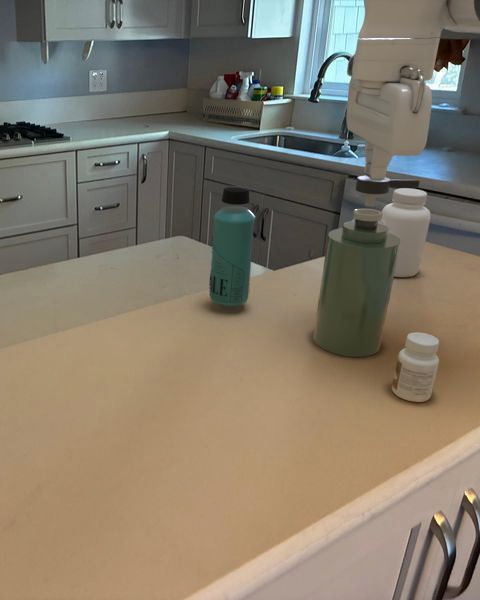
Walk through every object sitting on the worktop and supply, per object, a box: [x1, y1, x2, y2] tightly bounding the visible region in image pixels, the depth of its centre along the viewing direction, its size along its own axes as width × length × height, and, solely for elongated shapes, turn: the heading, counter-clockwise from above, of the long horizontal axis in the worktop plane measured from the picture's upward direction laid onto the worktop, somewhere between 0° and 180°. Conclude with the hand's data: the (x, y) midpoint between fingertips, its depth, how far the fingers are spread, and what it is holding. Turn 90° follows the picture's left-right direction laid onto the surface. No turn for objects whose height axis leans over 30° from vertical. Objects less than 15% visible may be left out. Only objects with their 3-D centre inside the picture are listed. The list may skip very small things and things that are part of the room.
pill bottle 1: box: [381, 187, 432, 278], centre depth 111 cm, size 8×8×15 cm
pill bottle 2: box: [391, 331, 440, 403], centre depth 75 cm, size 4×4×8 cm
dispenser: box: [312, 208, 401, 358], centre depth 86 cm, size 9×9×20 cm
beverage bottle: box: [208, 185, 256, 307], centre depth 98 cm, size 6×7×20 cm
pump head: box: [355, 174, 420, 208], centre depth 80 cm, size 8×4×4 cm, turn 82°
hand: (373, 178), depth 80 cm, fingers closed, pressing on pump head
